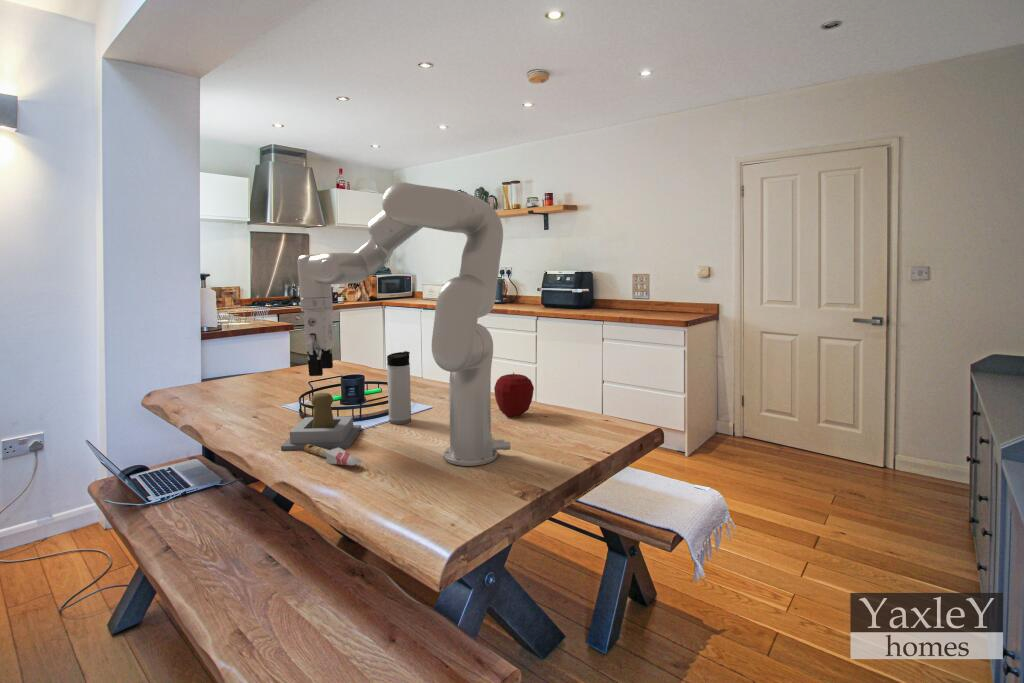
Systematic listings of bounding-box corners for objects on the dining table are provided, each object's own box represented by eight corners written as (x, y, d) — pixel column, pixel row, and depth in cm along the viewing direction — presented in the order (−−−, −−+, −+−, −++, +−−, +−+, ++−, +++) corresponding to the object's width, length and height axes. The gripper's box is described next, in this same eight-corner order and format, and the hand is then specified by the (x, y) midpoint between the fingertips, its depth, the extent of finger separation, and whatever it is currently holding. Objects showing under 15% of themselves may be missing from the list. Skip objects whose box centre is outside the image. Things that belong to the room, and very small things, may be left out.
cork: (341, 433, 139) (339, 392, 138) (321, 440, 134) (319, 397, 133) (326, 429, 142) (323, 389, 141) (306, 436, 137) (304, 394, 136)
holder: (361, 428, 147) (360, 414, 146) (348, 448, 131) (347, 432, 131) (301, 429, 146) (300, 415, 145) (281, 450, 130) (280, 434, 129)
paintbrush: (349, 459, 116) (300, 444, 128) (351, 471, 116) (301, 455, 128) (364, 454, 119) (314, 440, 131) (365, 466, 119) (315, 450, 132)
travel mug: (416, 420, 154) (414, 352, 151) (397, 426, 149) (395, 355, 146) (403, 416, 158) (401, 350, 155) (384, 421, 153) (382, 352, 150)
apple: (534, 421, 153) (534, 376, 151) (493, 421, 153) (493, 376, 151) (533, 410, 165) (533, 368, 163) (495, 410, 165) (495, 367, 163)
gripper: (322, 306, 125) (327, 378, 127) (340, 301, 142) (344, 365, 145) (289, 307, 124) (295, 379, 127) (311, 302, 142) (316, 366, 144)
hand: (321, 371), depth 136 cm, fingers open, 9 cm apart
